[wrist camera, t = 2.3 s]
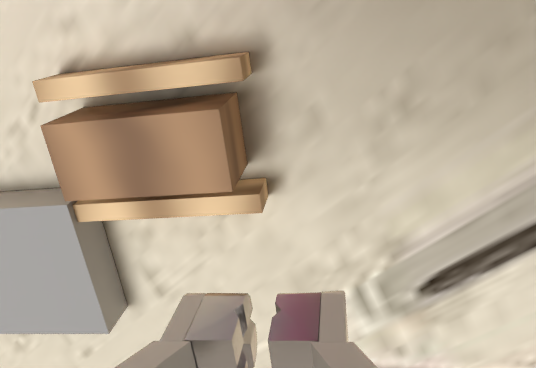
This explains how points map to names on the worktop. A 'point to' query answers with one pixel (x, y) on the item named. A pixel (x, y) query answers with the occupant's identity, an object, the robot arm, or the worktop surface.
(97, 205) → the oak shelf rails
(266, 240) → the worktop surface
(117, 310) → the slate plinth
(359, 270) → the worktop surface
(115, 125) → the block
